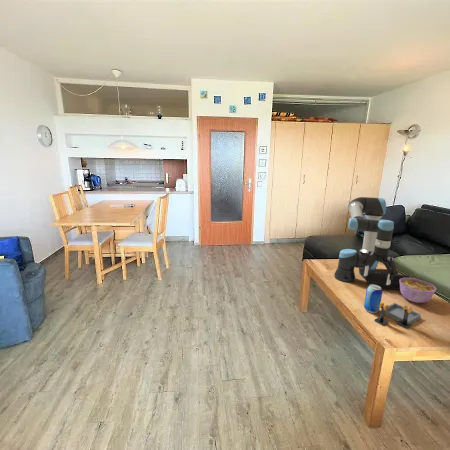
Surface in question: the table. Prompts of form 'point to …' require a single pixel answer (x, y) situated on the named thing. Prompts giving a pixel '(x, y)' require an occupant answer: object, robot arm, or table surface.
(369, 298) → the beer can
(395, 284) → the video game console
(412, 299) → the bowl of food
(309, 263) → the table surface
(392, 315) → the tray
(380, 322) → the clip posts
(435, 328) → the table surface
